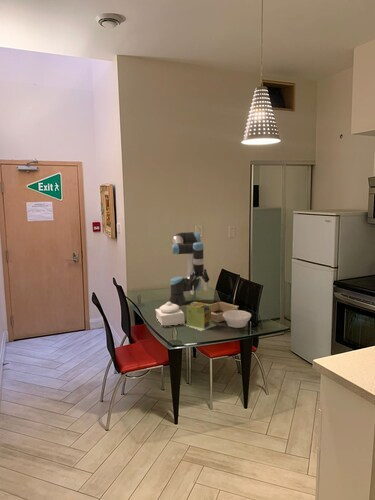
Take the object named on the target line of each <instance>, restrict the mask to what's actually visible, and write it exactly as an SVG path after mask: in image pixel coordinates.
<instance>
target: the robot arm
mask: <svg viewBox="0 0 375 500" xmlns="http://www.w3.org/2000/svg"><path fill="white" fill-rule="evenodd" d="M171 243H172V244H171V251H172V252H171V253H172V255H187V275H186V276H185V278H184V277H183V276H174V277H172V278H171V279H170V280H169V281H170V282H169V283H170V296H169V300H168V302H171V303H172V304H176V305H178V306H183V305H187V300H186V297H185V292H190V295H195V292H198V291H200V290H201V285H202V284H201V283H202V280H203V291H207V292H208V282H209V281H210V277H209V275H208V272H207V269H206V268H205V266H204V261H205V260H204V259H205V258H204V249H205V247H204V243H203V242H202V241H201V235H200V233H199V232H198V231H197V232H196V231H195V232H194V231H190V232H187V231H186V232H179V233H176V234H175V235H173V236H172V237H171Z"/></svg>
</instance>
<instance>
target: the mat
mask: <svg viewBox="0 0 375 500" xmlns="http://www.w3.org/2000/svg"><path fill="white" fill-rule="evenodd" d="M182 325H183V326H185V325H186V327H188V326H189V327H188V328H191V329H193V328H194V330H196V329H197V331H199V332H203V331H206V330H208V329H210V328H213V327H216V326H217V324H215V323H212V322H211V325H209V326H208V327H206V328H199V327H194V326H190V325H187V322H186V323H185V324H182Z"/></svg>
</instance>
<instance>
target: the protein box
mask: <svg viewBox="0 0 375 500" xmlns="http://www.w3.org/2000/svg"><path fill="white" fill-rule="evenodd" d="M211 304H212V303H211ZM211 304H210V303H204V302H198V301H193V302H190V303H188V304H186V323H187V325H190V326H194V327H199V328H206V327H208V326H209V325H211V323H212V321H211Z"/></svg>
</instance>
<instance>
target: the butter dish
mask: <svg viewBox="0 0 375 500" xmlns="http://www.w3.org/2000/svg"><path fill="white" fill-rule="evenodd" d="M154 310H155V316H156V318H157V319H158V321H159V322H160V323H161V325H175V326H179V325H178V324H180V325H183V324H185V322H186V321H185V313H184V312H183V311H182V310H181V309H180V305H176V304H172V303H171V302H169V301H166V303H165V304H162V305H160V306H159V308H155V309H154ZM157 319H156V320H157ZM158 321H157V322H158ZM161 325H160V326H161Z"/></svg>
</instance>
